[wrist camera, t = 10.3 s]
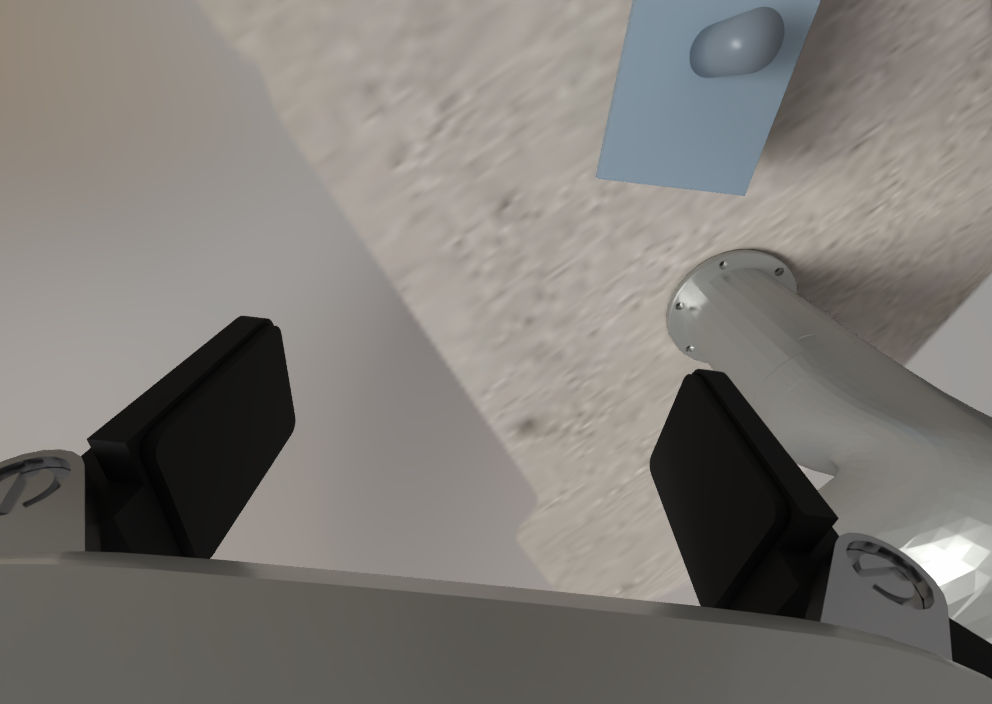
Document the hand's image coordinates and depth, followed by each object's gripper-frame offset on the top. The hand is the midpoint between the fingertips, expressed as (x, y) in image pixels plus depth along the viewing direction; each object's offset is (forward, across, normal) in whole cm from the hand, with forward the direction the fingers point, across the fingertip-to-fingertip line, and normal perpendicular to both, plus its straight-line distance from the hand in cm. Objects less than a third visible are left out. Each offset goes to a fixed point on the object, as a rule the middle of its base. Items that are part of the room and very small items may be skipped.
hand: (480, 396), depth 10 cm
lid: (+23, -11, -10) cm, 28 cm away
